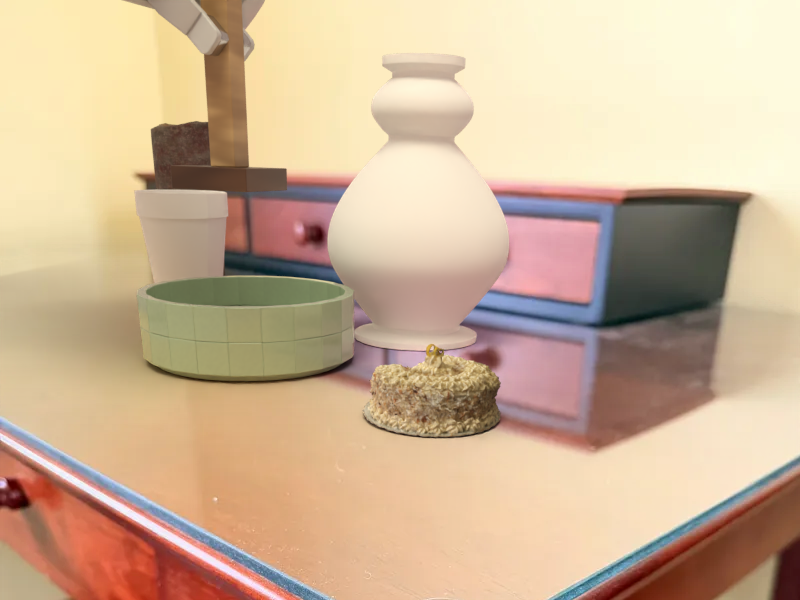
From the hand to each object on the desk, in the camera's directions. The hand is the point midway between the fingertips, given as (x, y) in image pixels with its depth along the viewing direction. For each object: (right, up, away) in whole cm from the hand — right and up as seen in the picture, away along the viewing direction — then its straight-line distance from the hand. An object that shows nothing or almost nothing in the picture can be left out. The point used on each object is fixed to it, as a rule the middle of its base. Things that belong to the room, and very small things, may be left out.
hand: (231, 51), depth 56 cm
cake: (+14, -25, +4) cm, 28 cm away
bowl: (-2, -17, +19) cm, 25 cm away
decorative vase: (+13, -13, +29) cm, 34 cm away
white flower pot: (-12, -9, +36) cm, 39 cm away
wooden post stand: (-1, -8, +4) cm, 9 cm away
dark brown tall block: (-14, -4, +46) cm, 48 cm away
